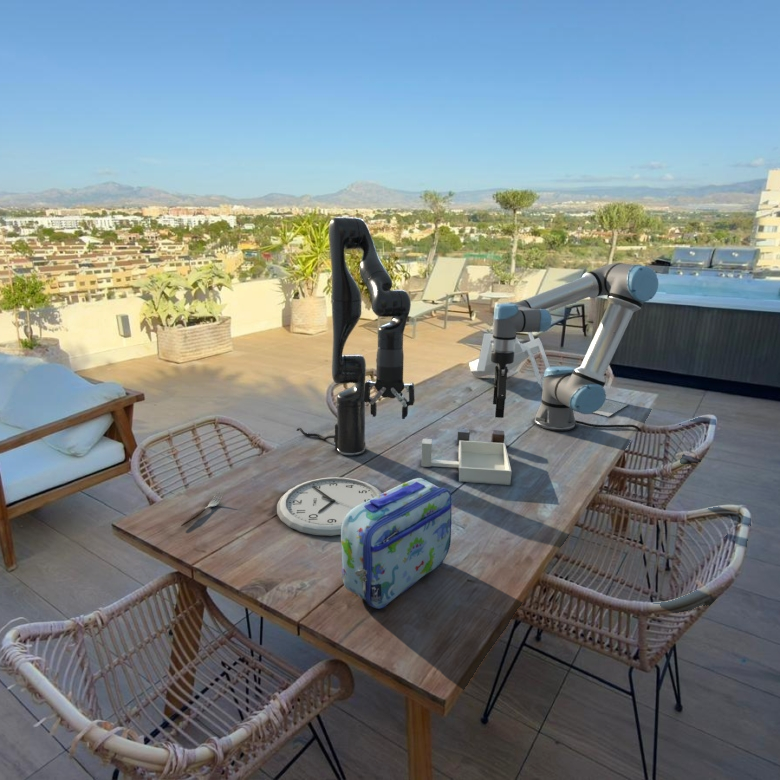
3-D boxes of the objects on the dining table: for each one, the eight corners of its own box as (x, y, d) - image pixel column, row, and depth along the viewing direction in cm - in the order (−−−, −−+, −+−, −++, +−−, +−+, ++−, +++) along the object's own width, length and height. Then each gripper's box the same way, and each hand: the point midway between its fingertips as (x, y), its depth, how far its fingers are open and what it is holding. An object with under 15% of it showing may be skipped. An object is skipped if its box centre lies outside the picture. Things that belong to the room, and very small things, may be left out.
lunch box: (370, 622, 101) (370, 527, 94) (335, 595, 108) (333, 505, 102) (455, 565, 118) (460, 481, 112) (420, 544, 125) (423, 465, 119)
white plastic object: (489, 418, 267) (470, 395, 242) (471, 346, 289) (451, 318, 264) (561, 394, 254) (547, 368, 230) (535, 321, 277) (521, 289, 252)
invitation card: (608, 416, 214) (573, 407, 224) (608, 416, 214) (573, 407, 224) (627, 404, 229) (594, 396, 238) (627, 405, 229) (594, 397, 239)
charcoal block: (468, 441, 187) (469, 428, 186) (468, 446, 183) (469, 432, 182) (457, 440, 187) (458, 427, 186) (457, 445, 184) (458, 432, 182)
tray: (503, 455, 176) (505, 433, 174) (510, 485, 156) (512, 460, 153) (423, 450, 179) (424, 428, 176) (419, 478, 159) (420, 454, 156)
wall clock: (392, 527, 129) (269, 531, 127) (392, 533, 130) (269, 537, 127) (383, 473, 158) (282, 475, 155) (383, 478, 158) (283, 480, 156)
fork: (176, 526, 131) (176, 519, 130) (217, 497, 145) (217, 491, 145) (185, 528, 130) (184, 521, 130) (225, 499, 145) (224, 492, 144)
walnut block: (502, 443, 186) (503, 430, 184) (503, 448, 182) (504, 434, 180) (491, 443, 186) (492, 429, 185) (491, 447, 182) (492, 434, 181)
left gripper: (416, 360, 148) (415, 414, 153) (367, 357, 150) (367, 410, 155) (413, 367, 141) (411, 423, 146) (362, 364, 143) (361, 419, 148)
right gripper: (489, 342, 187) (485, 398, 193) (493, 358, 163) (488, 422, 169) (511, 343, 186) (506, 399, 192) (518, 360, 162) (512, 423, 168)
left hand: (388, 417), depth 151 cm, fingers open, 8 cm apart
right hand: (497, 410), depth 181 cm, fingers open, 13 cm apart
